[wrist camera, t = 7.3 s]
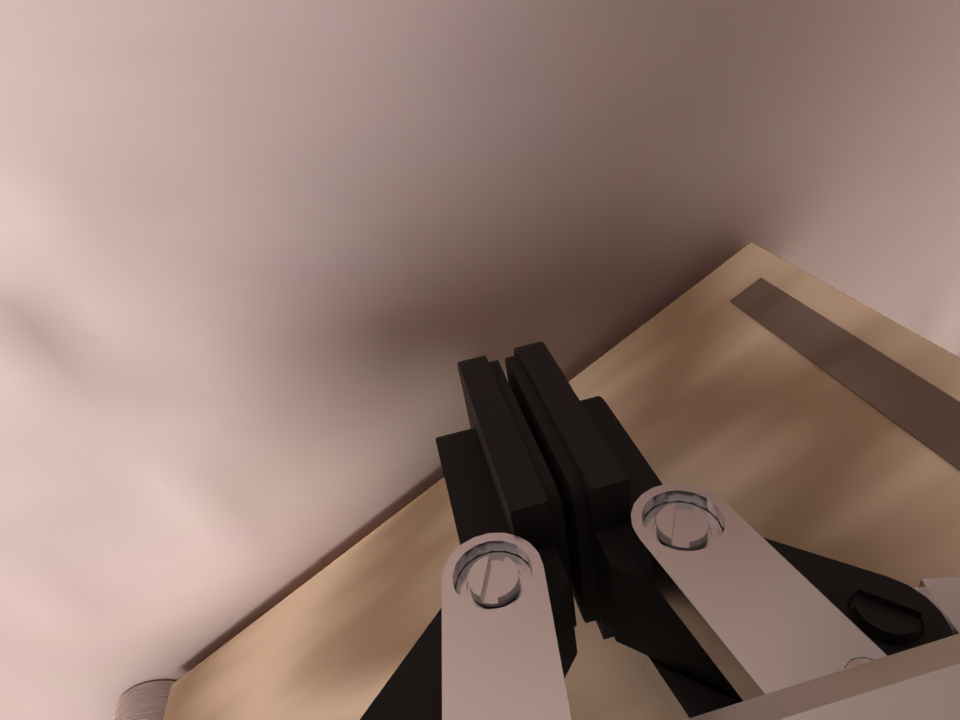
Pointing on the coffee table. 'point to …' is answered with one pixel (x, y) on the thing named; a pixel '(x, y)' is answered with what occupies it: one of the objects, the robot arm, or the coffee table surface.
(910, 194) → the coffee table surface
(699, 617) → the robot arm
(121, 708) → the hinge post
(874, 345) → the gate
